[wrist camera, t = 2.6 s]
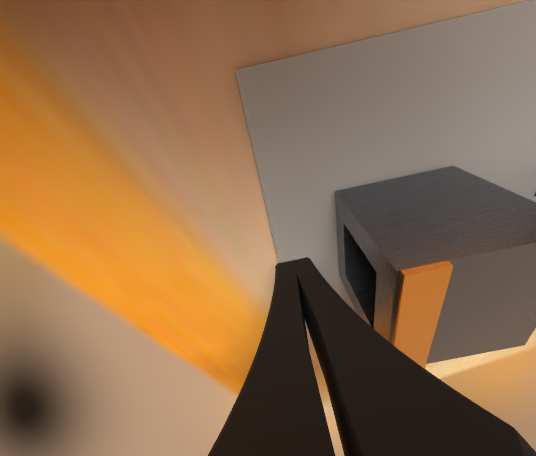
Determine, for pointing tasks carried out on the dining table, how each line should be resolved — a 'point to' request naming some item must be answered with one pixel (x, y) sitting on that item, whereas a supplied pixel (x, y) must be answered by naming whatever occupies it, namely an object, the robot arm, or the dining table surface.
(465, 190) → the socket
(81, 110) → the dining table surface
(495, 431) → the robot arm
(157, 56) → the dining table surface
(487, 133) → the mat
